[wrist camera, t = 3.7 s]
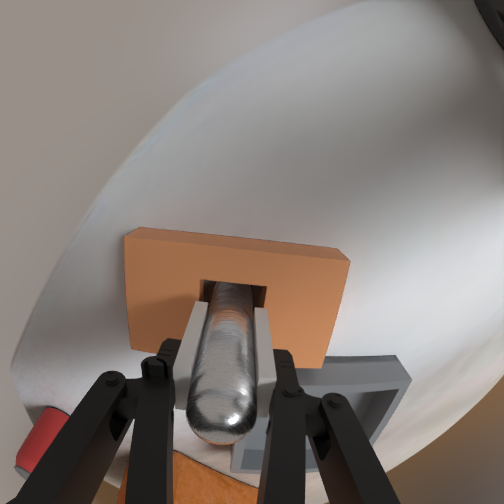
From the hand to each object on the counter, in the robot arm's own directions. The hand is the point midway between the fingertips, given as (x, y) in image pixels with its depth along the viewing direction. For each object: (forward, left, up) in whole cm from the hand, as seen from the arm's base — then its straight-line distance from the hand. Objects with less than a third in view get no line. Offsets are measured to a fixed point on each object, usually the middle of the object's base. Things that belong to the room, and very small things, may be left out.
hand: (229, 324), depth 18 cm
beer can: (+22, +24, -5) cm, 33 cm away
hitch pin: (0, 0, -5) cm, 5 cm away
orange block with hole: (0, 0, -5) cm, 5 cm away
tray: (-9, +13, -5) cm, 16 cm away
